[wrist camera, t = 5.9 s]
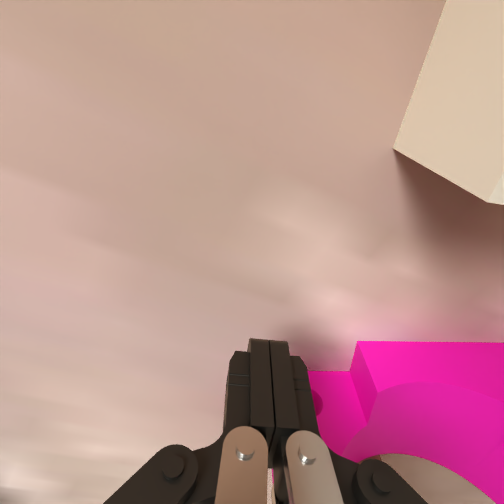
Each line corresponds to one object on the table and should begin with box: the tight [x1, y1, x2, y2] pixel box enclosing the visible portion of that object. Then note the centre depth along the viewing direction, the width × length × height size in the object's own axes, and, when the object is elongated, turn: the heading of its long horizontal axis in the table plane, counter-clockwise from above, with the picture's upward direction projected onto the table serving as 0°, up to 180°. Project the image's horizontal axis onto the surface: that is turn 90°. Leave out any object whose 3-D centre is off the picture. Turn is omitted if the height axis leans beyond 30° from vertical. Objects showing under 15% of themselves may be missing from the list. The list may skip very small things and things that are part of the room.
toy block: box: [272, 341, 504, 504], centre depth 17 cm, size 15×6×8 cm, turn 89°
